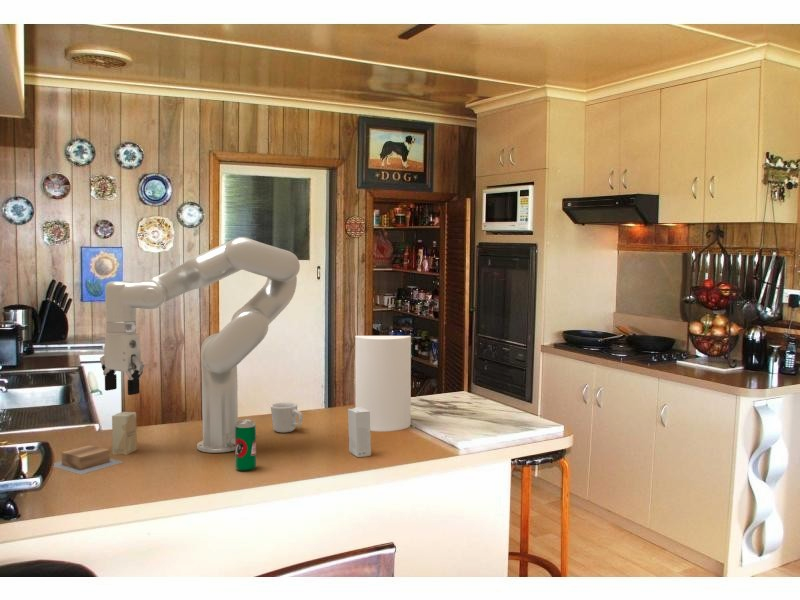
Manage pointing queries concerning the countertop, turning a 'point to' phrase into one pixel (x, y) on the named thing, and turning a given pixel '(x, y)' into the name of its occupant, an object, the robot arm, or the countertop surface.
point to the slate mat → (111, 463)
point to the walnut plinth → (85, 457)
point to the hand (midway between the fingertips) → (122, 391)
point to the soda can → (245, 445)
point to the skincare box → (359, 432)
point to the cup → (285, 416)
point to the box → (124, 433)
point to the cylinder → (384, 380)
